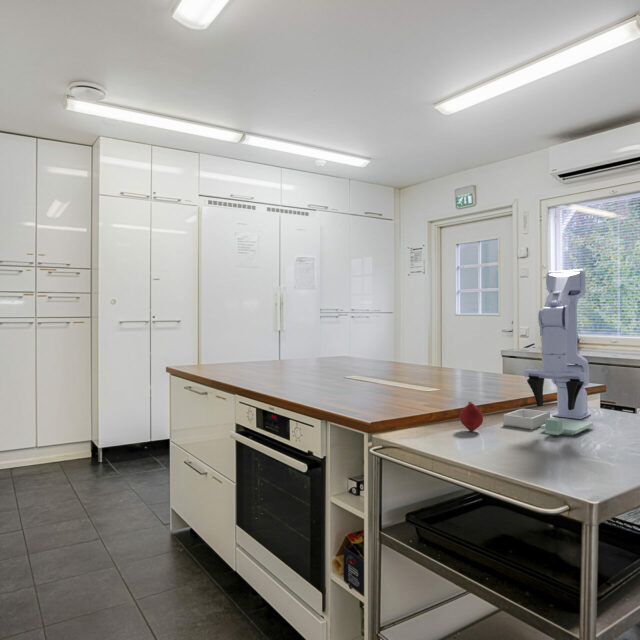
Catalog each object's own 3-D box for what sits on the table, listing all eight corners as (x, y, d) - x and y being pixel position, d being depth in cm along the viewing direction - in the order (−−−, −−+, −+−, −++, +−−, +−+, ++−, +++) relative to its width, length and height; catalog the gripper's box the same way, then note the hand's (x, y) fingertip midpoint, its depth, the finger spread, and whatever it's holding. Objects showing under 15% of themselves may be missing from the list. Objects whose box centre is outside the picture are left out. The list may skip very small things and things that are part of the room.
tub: (522, 418, 145) (522, 408, 145) (550, 422, 139) (550, 412, 139) (503, 425, 136) (503, 414, 136) (532, 429, 131) (531, 418, 131)
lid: (559, 424, 137) (559, 408, 137) (593, 429, 130) (592, 412, 130) (533, 435, 125) (533, 418, 125) (569, 440, 119) (569, 422, 119)
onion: (480, 428, 133) (479, 399, 133) (485, 433, 127) (484, 403, 127) (458, 428, 133) (457, 399, 133) (462, 433, 128) (462, 403, 128)
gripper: (519, 353, 126) (520, 406, 126) (579, 356, 116) (580, 413, 116) (530, 352, 131) (531, 402, 131) (589, 354, 121) (590, 409, 121)
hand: (555, 407), depth 124 cm, fingers open, 7 cm apart
